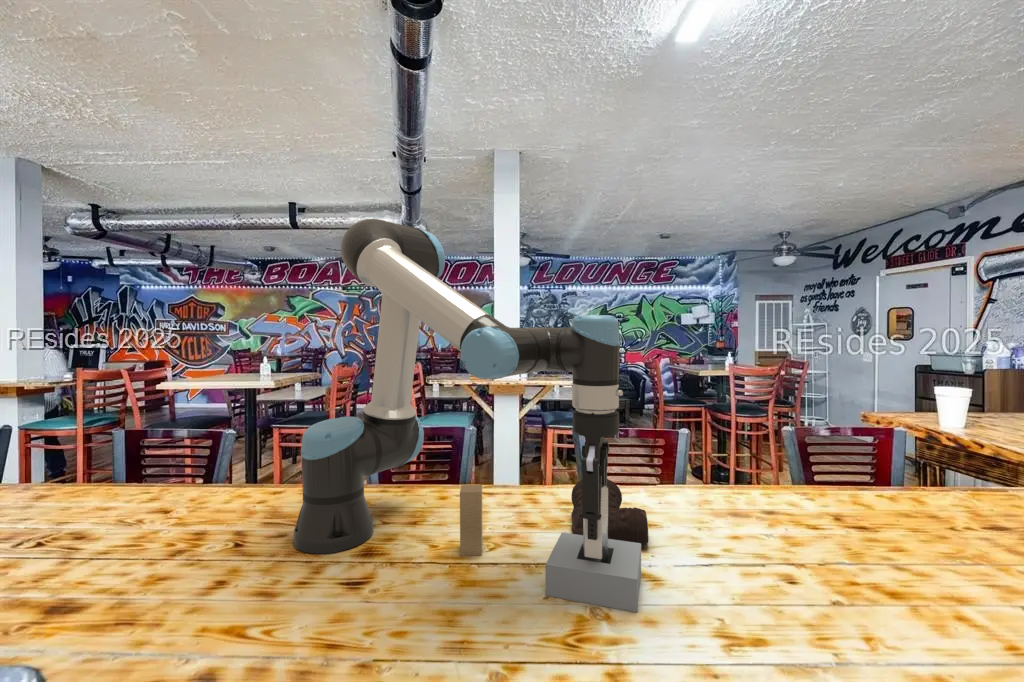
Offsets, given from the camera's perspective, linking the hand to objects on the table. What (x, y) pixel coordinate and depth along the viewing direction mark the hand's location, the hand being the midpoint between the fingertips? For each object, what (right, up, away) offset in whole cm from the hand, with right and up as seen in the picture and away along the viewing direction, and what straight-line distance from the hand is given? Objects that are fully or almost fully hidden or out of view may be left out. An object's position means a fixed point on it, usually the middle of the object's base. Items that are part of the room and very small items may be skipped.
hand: (595, 549), depth 77 cm
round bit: (0, -2, 0) cm, 2 cm away
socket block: (0, -6, 0) cm, 6 cm away
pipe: (+6, -5, +19) cm, 21 cm away
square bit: (-22, -5, +12) cm, 25 cm away
